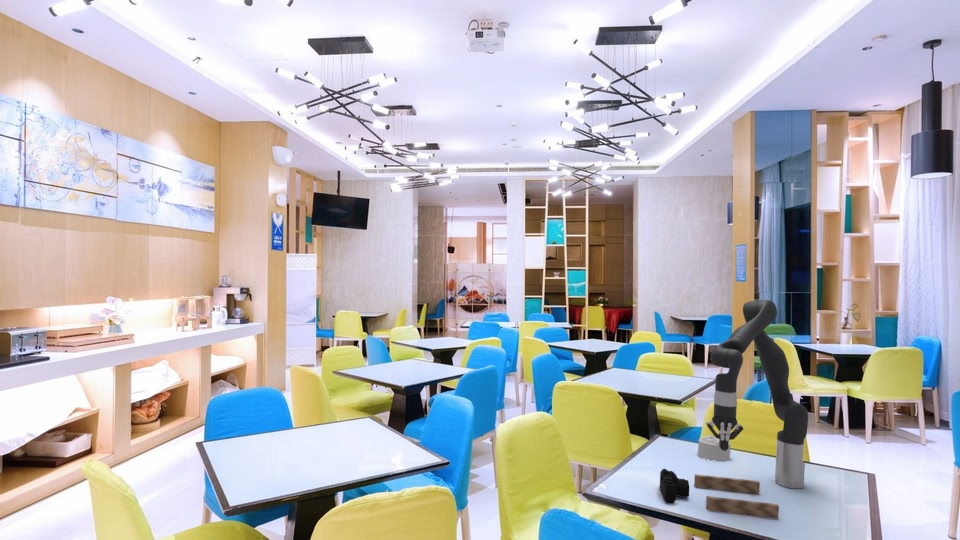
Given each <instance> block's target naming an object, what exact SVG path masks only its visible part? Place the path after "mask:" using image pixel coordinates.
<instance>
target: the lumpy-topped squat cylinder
mask: <svg viewBox="0 0 960 540" xmlns="http://www.w3.org/2000/svg"><path fill="white" fill-rule="evenodd" d="M697 446H698V447H697V456H698V458H700V457H701V458H700V459H703V458H705V459H704V460H707V459H709V460H708V461H712V460H716V461H715V462H727V461H728V460H729V461H730V460H731V443H730V442H729V446H728V449H727V451H722V450H721V448H720V447H719V439H718V438H716V437H715V436H714V435H711V434H707V435H705V436H703V437H701V438H699V439H698V445H697ZM726 460H727V461H726Z"/></svg>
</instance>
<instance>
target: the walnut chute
mask: <svg viewBox="0 0 960 540" xmlns="http://www.w3.org/2000/svg"><path fill="white" fill-rule="evenodd" d="M693 481H694V484H693V486H694V488H699V489H709V490H717V491H726V492H733V493H742V494H744V493H745V494H752V495H760V489H761V488H760V487H761V486H760V485H761V483H760V481H759V480H751V479H744V478H743V479H742V478H736V477H735V478H733V477H726V476H725V477H724V476H717V475H716V476H714V475H705V474H698V473H697V474H694V480H693ZM705 499H706V501H705V509H707V510H709V512H715V513H716V512H717V513H724V514H733V515H742V516H749V517H758V518H766V519H776V520H779V513H780V511H779V509H780V505H779V504H778V503H771V502H761V501H752V500H744V499H735V498H727V497H718V496H710V495H706V498H705ZM707 510H706V511H707Z"/></svg>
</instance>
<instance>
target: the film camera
mask: <svg viewBox="0 0 960 540" xmlns="http://www.w3.org/2000/svg"><path fill="white" fill-rule="evenodd" d="M659 476H660V477H659V490H660V493H661V497H662V499H663V501H664V502H665V503H666V504H669V505H673V504H675V502H676V501H677V497H684V498H685V497H689V495H690V484H689V480H688V479H684V478H679V477H678V476H677V474H676V473H675V471H673V470H669V469H666V468H662V469H661V471H660V473H659Z"/></svg>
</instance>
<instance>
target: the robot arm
mask: <svg viewBox="0 0 960 540" xmlns="http://www.w3.org/2000/svg"><path fill="white" fill-rule="evenodd" d="M742 314H743V317H744V318H743V319H744V321H745V323H744V324H742V325H741V326H739V327H738V328H736V329H735V330H734V331H733V332H732V333H731V335H730V336H729V337H728V338H727V339H726V340H725V341H723V342H721V343H720V344H718V345H716V347H715V348H713V350H712V351H711V353H710V360H711V363H712V365H714V366H716V367H720V368H725V369H728V372H727V373H726V372H725V373H724V372H723V373H718V374H716V376H715V382H714V383H715V386H714V387H715V388H714V389H715V390H714V394H713V395H714V396H713V416H712V417H711V420H710V421H709V422H705V425H706V427H707V428H708V429H709V431H710V432H711V434H713V435H712V436H713V437H716V438H718V439H719V447H720V448H721V450H722V451H727V449H728V446H729V443H730V441H731V440H735V439H736V438H737V437H738V435H740V433H741V432H742V431H744V427H743V426H742V425H741V424H739V423H738V420H737V409H738V408H737V405H738V397H737V395H738V394H737V388H738V387H737V384H738V378H739V375H740V371H741V368H742V366H743V364H744V356H743V354H744V353H745V352H746V350H747V349H748V348H749V346H750V345H751V343H752V342H753V343H754V344H755V348H756V351H757V353H758V357H759V361H760V364H761V367H762V370H763V373H764V375H765V378H766V383H767V384H768V385H767V386H768V388H769V391H770V395H771V400H772V405H773V410H774V413H775V416H776V417H777V418H778V419H779V420H781V421H782V422H783V427H782V430H779V431H777V432H776V433H777V434H776V453H775V472H774V481H775V483H776V484H778V485H779V486H782V487H785V488H788V489H802V488H804V487H805V486H804V485H805V470H806V464H805V462H804V448H805V447H804V446H805V443H804V442H805V439H806V438H807V435H808V426H809V412H808V409H807V408H806V406H804V405H803V404H801V403H799V402H798V401H795V400H794V398H793V397H792V396H793V395H792V393H791V391H790V388H789V377H790V366H789V362H788V359H787V355H786V354H785V351H784V350H783V348H781V347H780V345H779V344H778V343H777V342H776V341H775V340H773V339H772V338H771V337H770V336H769V335H768V334H767V333H766V331H765V329H767V328H768V327H769V326H770V325H771V324H772V323H773V322H775V320H776V319H777V315H778V309H777V305H776V303H774V302H773V300H770V299H761V300H751V301H747V302H745V303H744V304H743V306H742ZM714 427H716V429H717V431H718V433H717V432H716V430H715V429H714Z"/></svg>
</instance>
